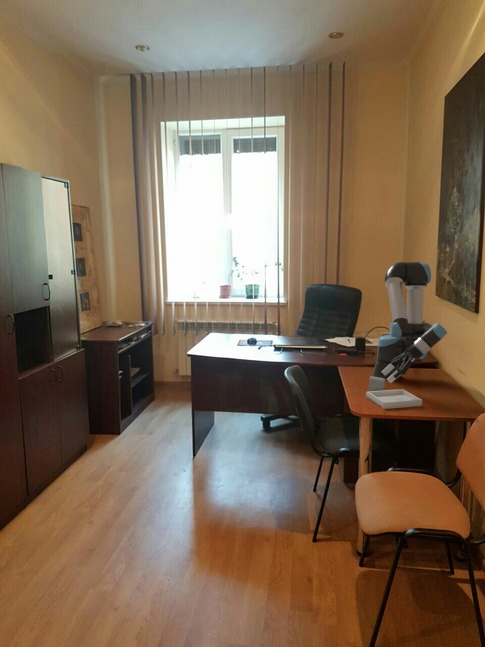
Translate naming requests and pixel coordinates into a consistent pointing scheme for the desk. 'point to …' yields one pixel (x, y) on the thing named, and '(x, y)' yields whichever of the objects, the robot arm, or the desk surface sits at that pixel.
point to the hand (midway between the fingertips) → (385, 377)
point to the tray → (393, 398)
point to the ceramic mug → (377, 384)
